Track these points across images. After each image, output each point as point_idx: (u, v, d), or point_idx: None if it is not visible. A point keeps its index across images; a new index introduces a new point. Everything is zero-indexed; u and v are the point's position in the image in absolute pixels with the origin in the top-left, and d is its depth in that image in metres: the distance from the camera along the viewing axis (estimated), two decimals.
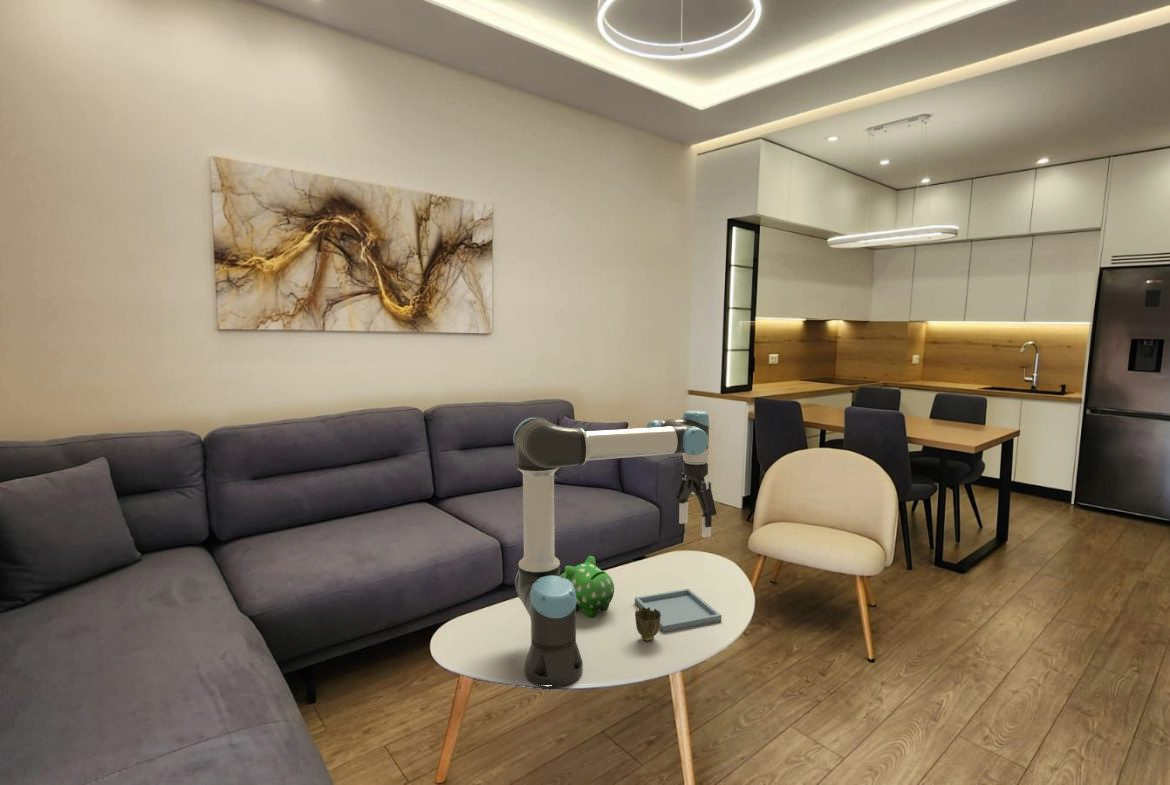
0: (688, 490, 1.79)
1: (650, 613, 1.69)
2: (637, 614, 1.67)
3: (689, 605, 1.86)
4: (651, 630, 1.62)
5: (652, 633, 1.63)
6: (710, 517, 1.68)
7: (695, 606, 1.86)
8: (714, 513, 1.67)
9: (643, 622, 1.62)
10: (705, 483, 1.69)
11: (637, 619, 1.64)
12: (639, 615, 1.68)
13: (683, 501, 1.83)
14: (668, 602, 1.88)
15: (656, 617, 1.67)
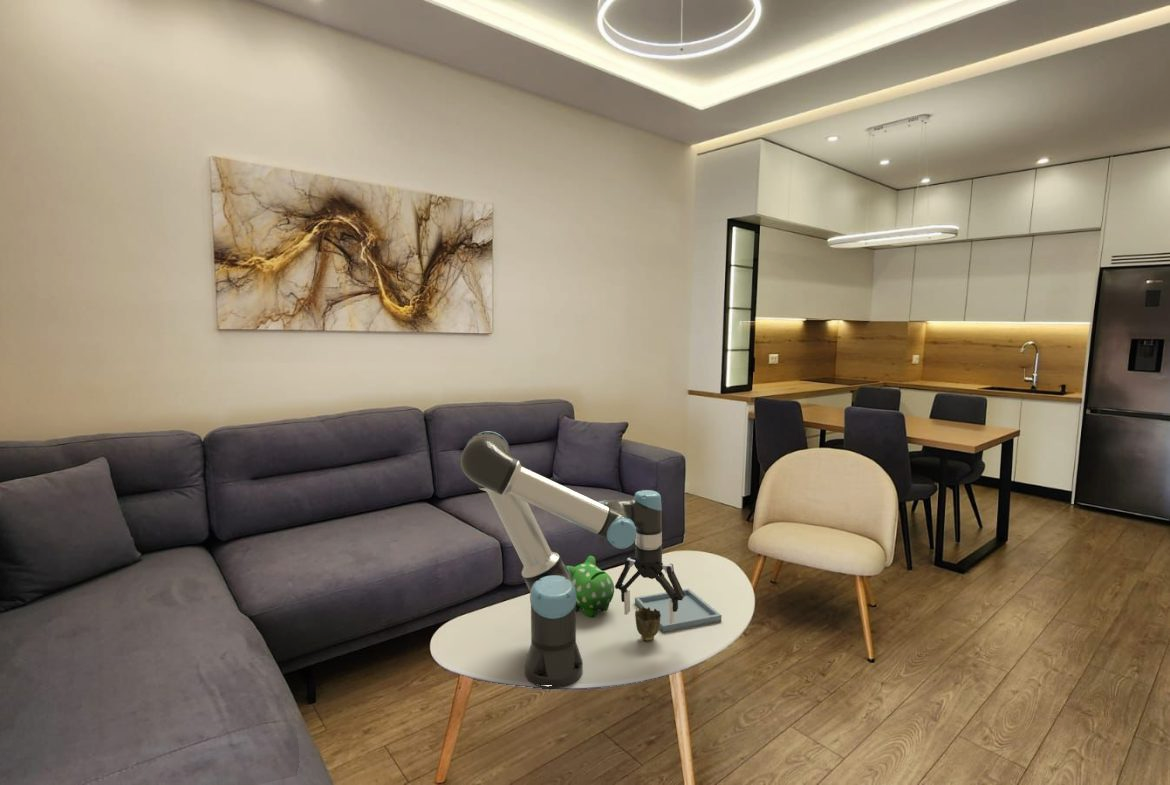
0: None
1: (650, 613, 1.69)
2: (637, 614, 1.67)
3: (689, 605, 1.86)
4: (651, 630, 1.62)
5: (652, 633, 1.63)
6: (677, 600, 1.62)
7: (695, 606, 1.86)
8: (683, 595, 1.61)
9: (643, 622, 1.62)
10: (670, 566, 1.61)
11: (637, 619, 1.64)
12: (639, 615, 1.68)
13: (626, 589, 1.68)
14: (668, 602, 1.88)
15: (656, 617, 1.67)
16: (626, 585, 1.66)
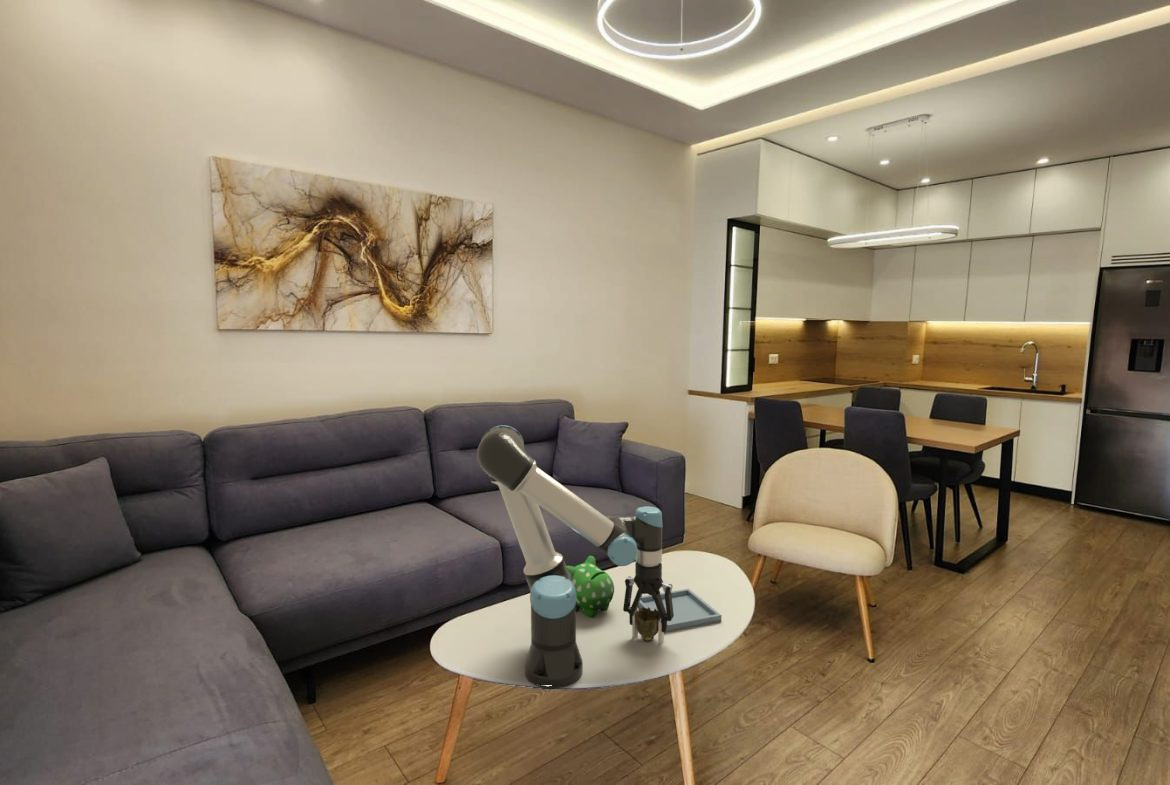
0: (641, 595, 1.65)
1: (650, 613, 1.69)
2: (637, 614, 1.67)
3: (689, 605, 1.86)
4: (651, 630, 1.62)
5: (652, 633, 1.63)
6: (666, 621, 1.63)
7: (695, 606, 1.86)
8: (672, 616, 1.63)
9: (643, 622, 1.62)
10: (670, 588, 1.61)
11: (637, 619, 1.64)
12: (640, 615, 1.68)
13: (634, 612, 1.67)
14: None
15: (656, 617, 1.67)
16: (633, 607, 1.66)
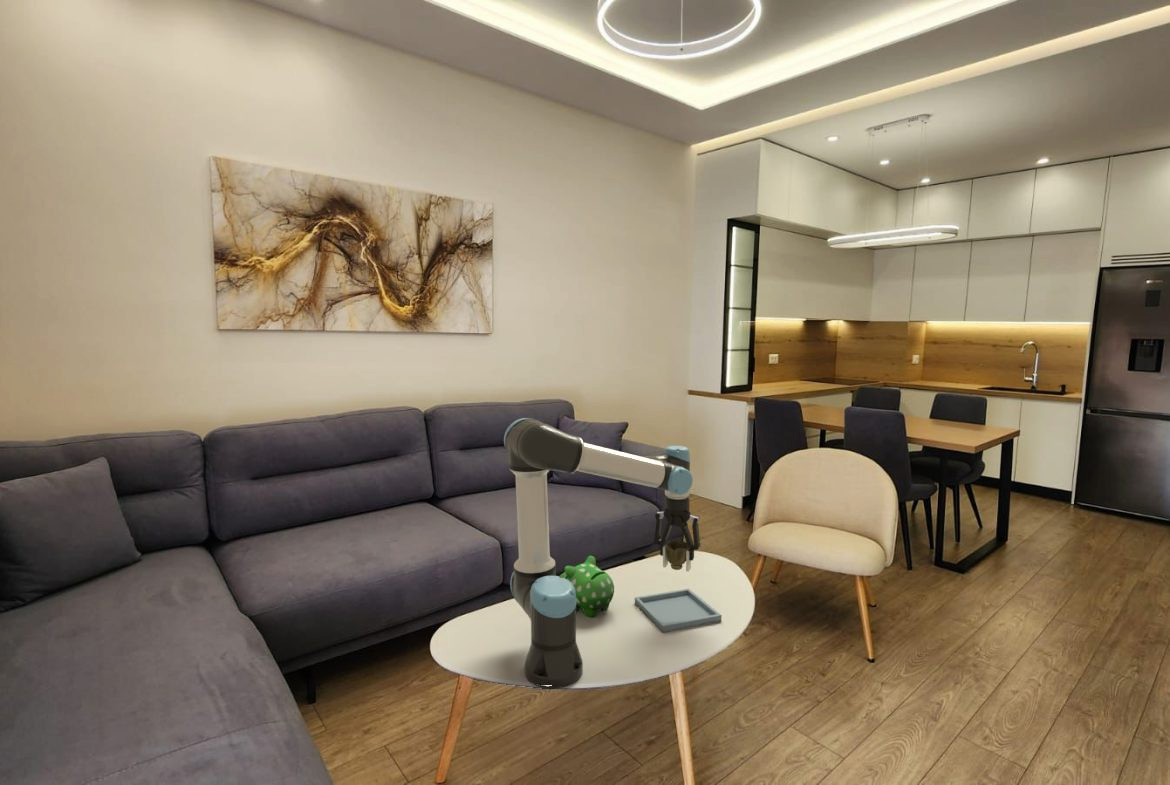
0: (670, 527, 1.79)
1: (678, 545, 1.83)
2: (666, 545, 1.81)
3: (689, 605, 1.86)
4: (680, 558, 1.76)
5: (681, 561, 1.77)
6: None
7: (695, 606, 1.86)
8: (699, 546, 1.77)
9: (673, 551, 1.76)
10: (697, 519, 1.75)
11: (667, 549, 1.78)
12: (669, 547, 1.82)
13: (664, 544, 1.81)
14: (668, 602, 1.88)
15: (684, 548, 1.81)
16: (663, 538, 1.80)
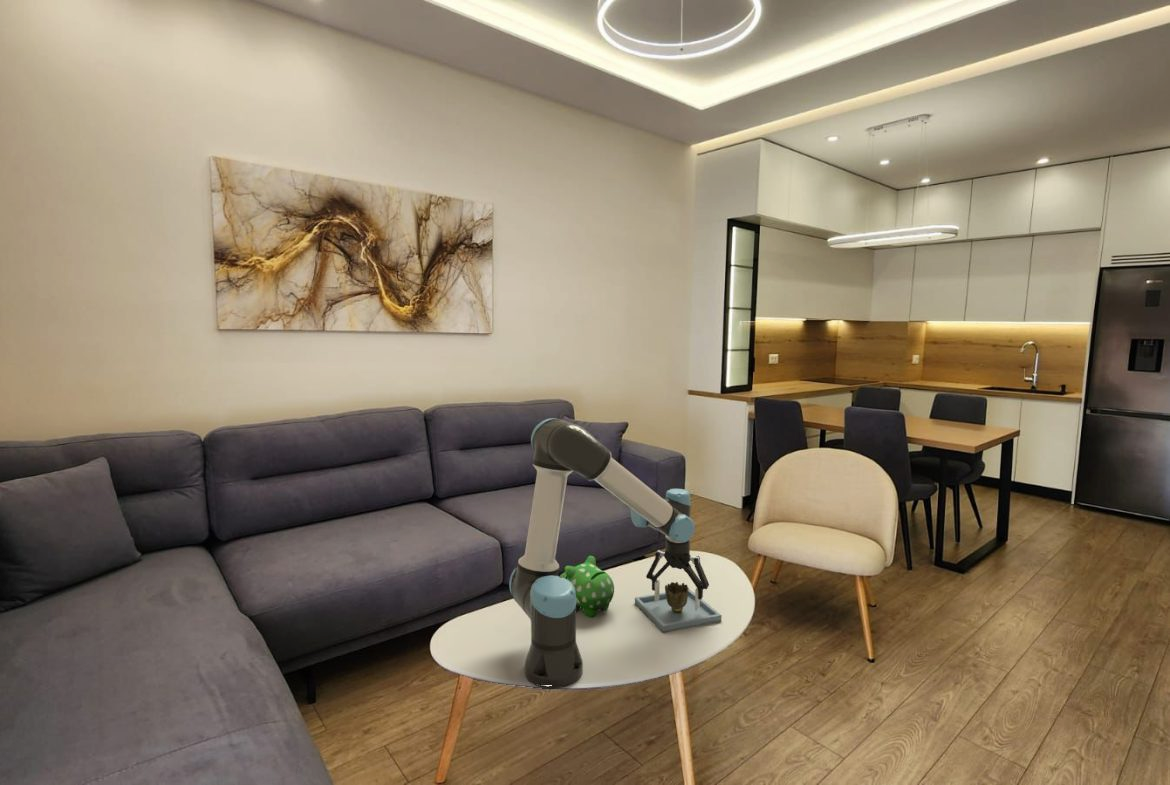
0: (667, 567, 1.82)
1: (678, 587, 1.85)
2: (666, 588, 1.83)
3: (689, 605, 1.86)
4: (680, 602, 1.78)
5: (681, 604, 1.79)
6: (702, 589, 1.79)
7: None
8: (708, 585, 1.78)
9: (673, 595, 1.78)
10: (698, 558, 1.78)
11: (667, 593, 1.80)
12: (669, 589, 1.84)
13: (656, 579, 1.85)
14: None
15: (684, 590, 1.83)
16: (656, 575, 1.83)
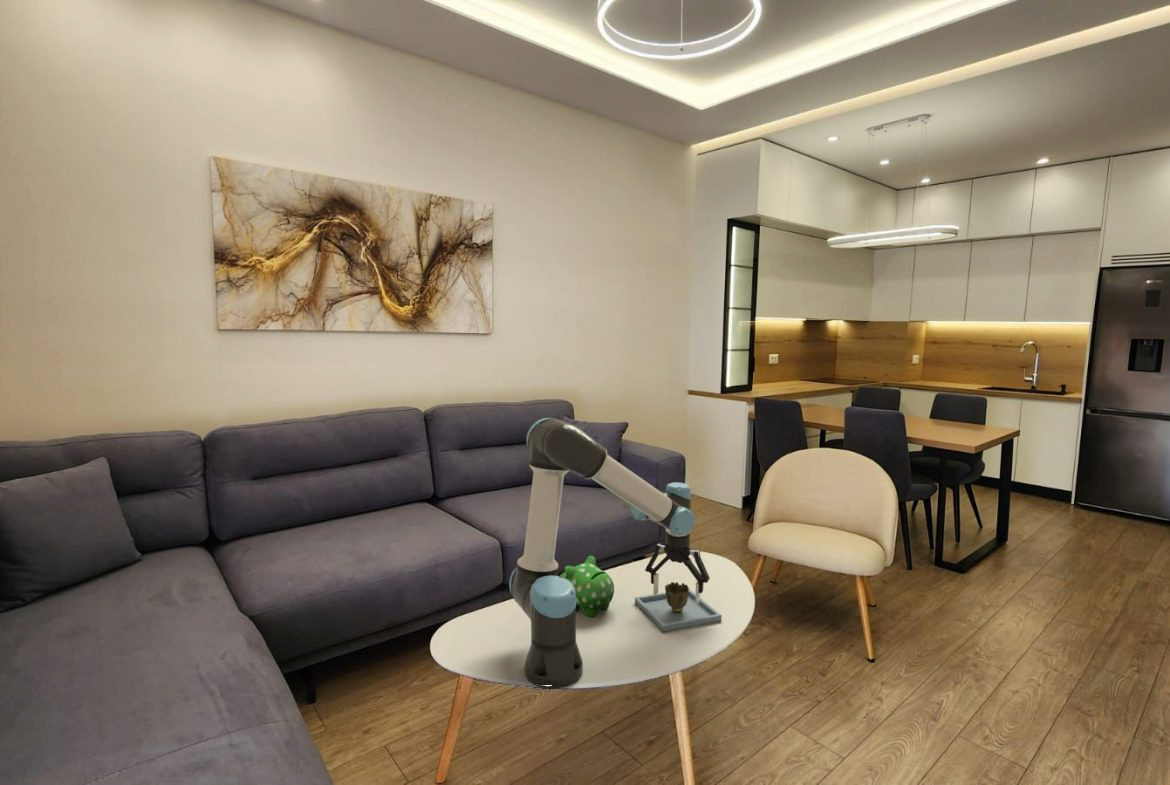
0: (666, 561, 1.82)
1: (678, 587, 1.85)
2: (667, 588, 1.83)
3: (689, 605, 1.86)
4: (680, 602, 1.78)
5: (681, 604, 1.79)
6: None
7: (695, 606, 1.86)
8: (709, 578, 1.78)
9: (673, 595, 1.78)
10: (697, 552, 1.77)
11: (667, 593, 1.80)
12: (669, 589, 1.84)
13: None
14: None
15: (684, 590, 1.83)
16: (656, 568, 1.83)
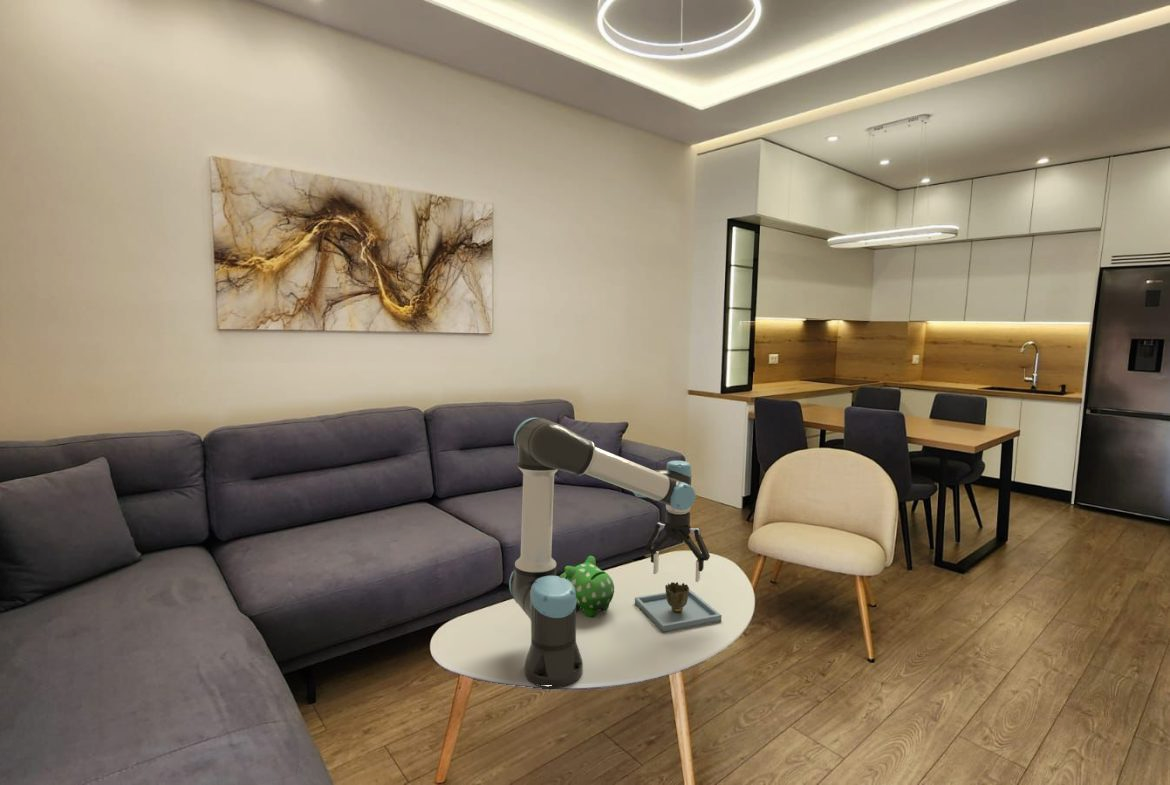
0: (666, 539, 1.81)
1: (678, 587, 1.85)
2: (667, 588, 1.84)
3: (689, 605, 1.86)
4: (680, 601, 1.79)
5: (681, 604, 1.79)
6: (703, 561, 1.78)
7: (695, 606, 1.86)
8: (709, 556, 1.77)
9: (674, 594, 1.78)
10: (698, 530, 1.77)
11: (668, 592, 1.80)
12: (669, 589, 1.84)
13: (655, 551, 1.84)
14: None
15: (684, 590, 1.84)
16: (656, 547, 1.82)
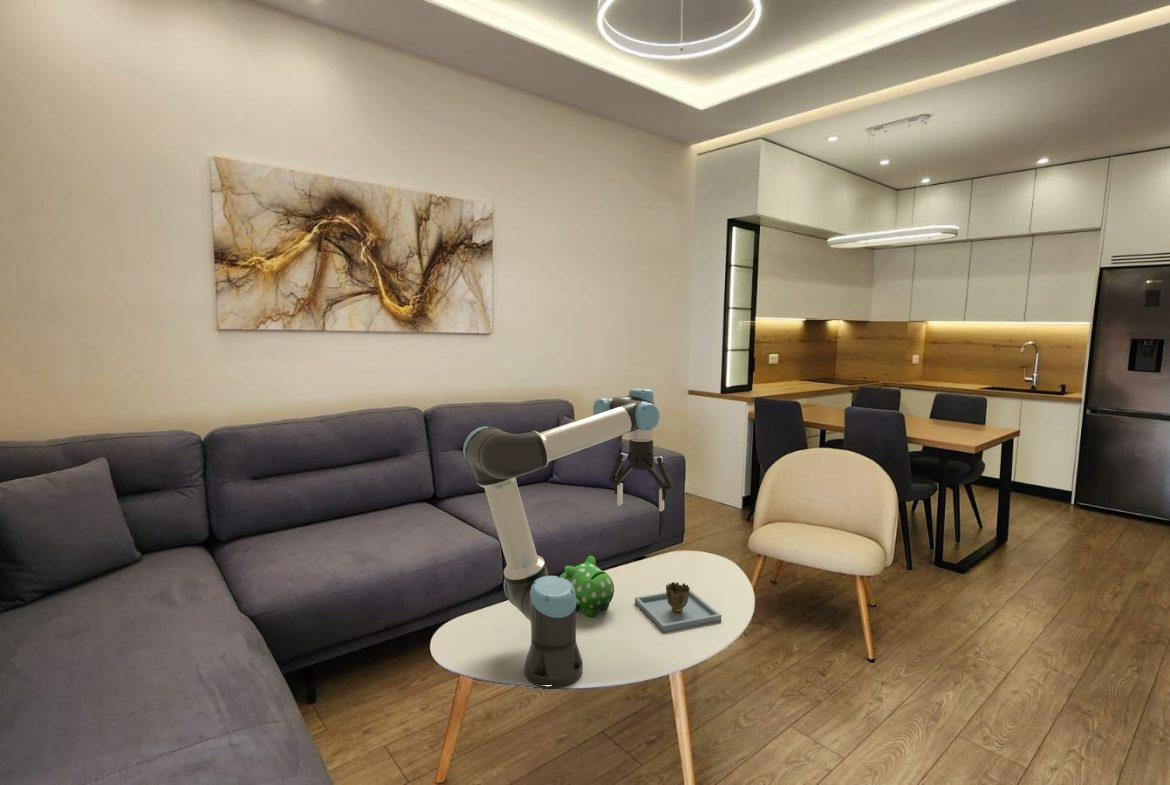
0: (630, 469, 1.77)
1: (678, 587, 1.85)
2: (667, 588, 1.83)
3: (689, 605, 1.86)
4: (681, 602, 1.79)
5: (682, 604, 1.79)
6: (667, 489, 1.73)
7: (695, 606, 1.86)
8: (672, 485, 1.73)
9: (675, 594, 1.78)
10: (661, 457, 1.72)
11: (668, 592, 1.80)
12: (669, 589, 1.84)
13: (619, 482, 1.80)
14: None
15: (684, 591, 1.84)
16: (619, 478, 1.78)
